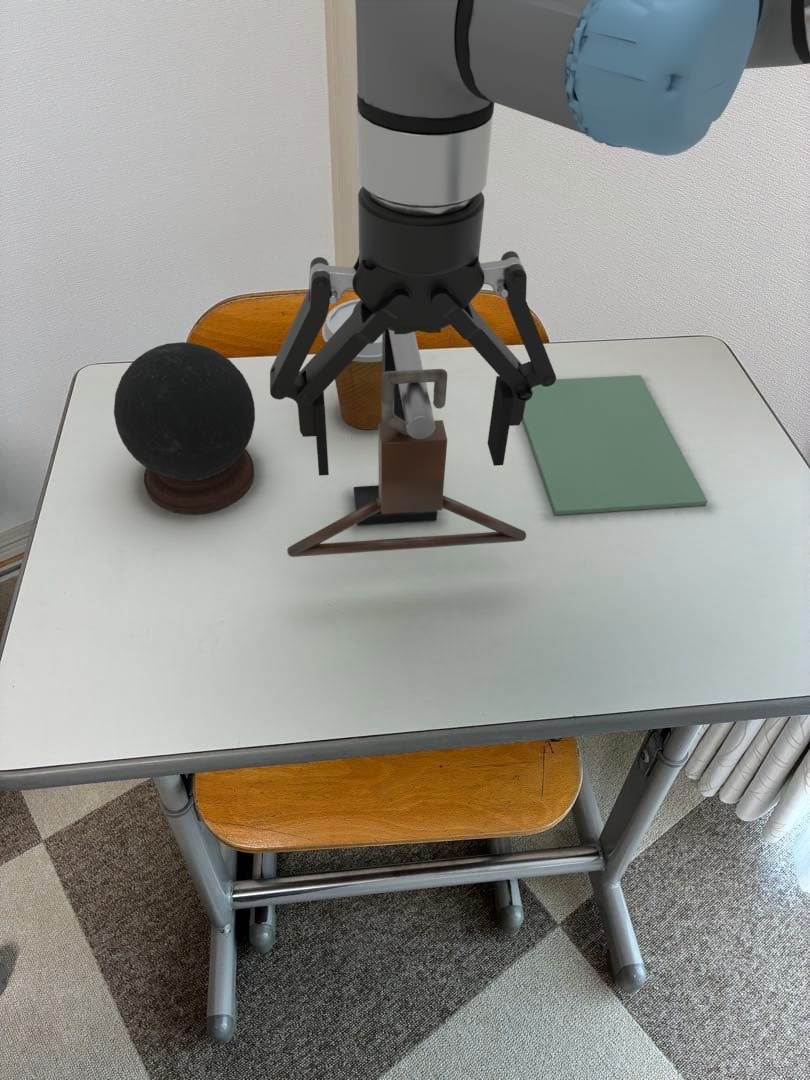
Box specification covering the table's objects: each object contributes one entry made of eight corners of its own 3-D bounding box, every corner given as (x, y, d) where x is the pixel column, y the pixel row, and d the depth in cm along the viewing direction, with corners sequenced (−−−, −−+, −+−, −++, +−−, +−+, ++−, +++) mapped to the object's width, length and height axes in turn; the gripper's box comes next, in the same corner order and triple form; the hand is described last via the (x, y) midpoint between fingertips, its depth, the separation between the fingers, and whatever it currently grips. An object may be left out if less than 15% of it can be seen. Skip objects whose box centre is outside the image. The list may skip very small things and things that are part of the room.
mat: (510, 385, 96) (511, 381, 95) (639, 379, 97) (640, 374, 97) (554, 515, 81) (555, 511, 80) (706, 505, 82) (707, 501, 82)
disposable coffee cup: (375, 377, 96) (375, 287, 87) (427, 417, 91) (432, 324, 82) (310, 408, 92) (303, 315, 83) (361, 450, 87) (358, 357, 78)
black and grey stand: (430, 490, 83) (443, 285, 66) (455, 617, 71) (479, 411, 54) (353, 494, 82) (347, 289, 65) (367, 624, 71) (363, 417, 54)
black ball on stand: (131, 448, 86) (94, 326, 75) (252, 427, 89) (234, 307, 78) (140, 533, 78) (101, 409, 67) (274, 507, 80) (257, 384, 70)
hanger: (522, 529, 72) (555, 354, 58) (528, 549, 70) (563, 373, 56) (287, 545, 70) (265, 368, 56) (287, 565, 68) (264, 388, 55)
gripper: (608, 157, 51) (553, 420, 66) (209, 164, 48) (249, 436, 64) (646, 210, 46) (577, 482, 61) (202, 222, 43) (248, 501, 59)
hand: (410, 459), depth 62 cm, fingers open, 13 cm apart
